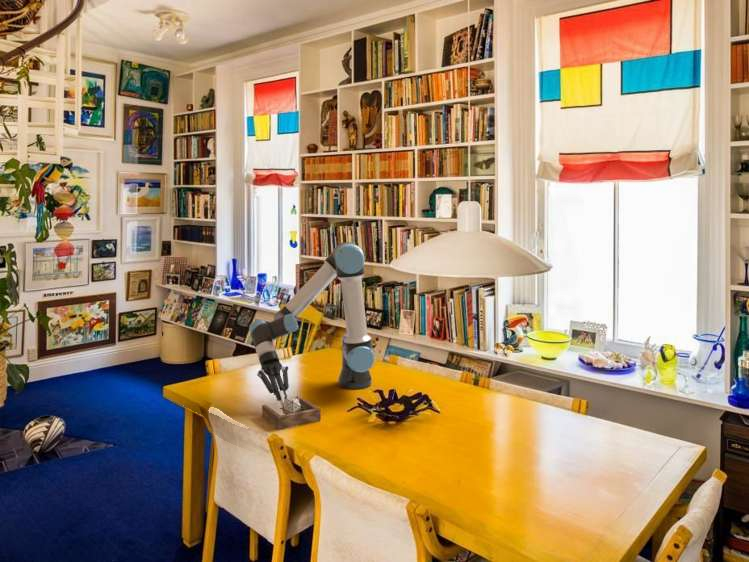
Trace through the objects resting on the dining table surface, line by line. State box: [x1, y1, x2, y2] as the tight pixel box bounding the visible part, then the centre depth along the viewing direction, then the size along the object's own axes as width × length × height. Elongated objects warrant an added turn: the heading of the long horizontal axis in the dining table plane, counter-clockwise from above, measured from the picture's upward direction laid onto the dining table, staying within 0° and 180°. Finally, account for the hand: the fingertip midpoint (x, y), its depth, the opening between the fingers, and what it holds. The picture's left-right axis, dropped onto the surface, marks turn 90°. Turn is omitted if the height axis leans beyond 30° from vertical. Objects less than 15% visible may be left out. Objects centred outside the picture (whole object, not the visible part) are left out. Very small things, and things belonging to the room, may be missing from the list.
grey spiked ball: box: [279, 395, 303, 415], centre depth 225 cm, size 9×8×10 cm
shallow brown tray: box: [261, 397, 322, 430], centre depth 225 cm, size 17×15×4 cm
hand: (285, 407), depth 229 cm, fingers closed
